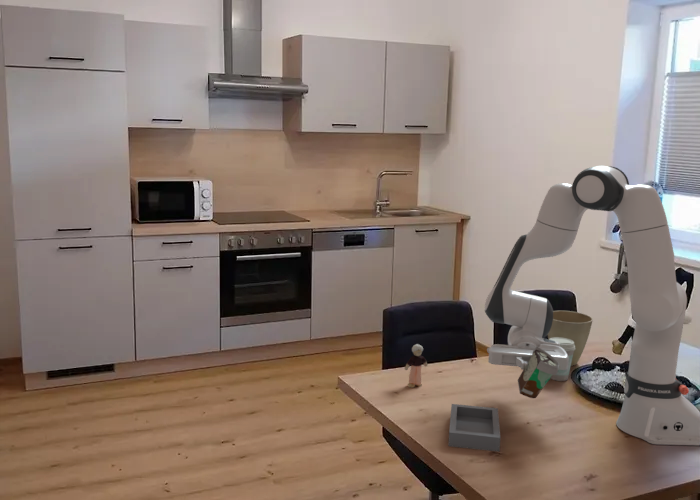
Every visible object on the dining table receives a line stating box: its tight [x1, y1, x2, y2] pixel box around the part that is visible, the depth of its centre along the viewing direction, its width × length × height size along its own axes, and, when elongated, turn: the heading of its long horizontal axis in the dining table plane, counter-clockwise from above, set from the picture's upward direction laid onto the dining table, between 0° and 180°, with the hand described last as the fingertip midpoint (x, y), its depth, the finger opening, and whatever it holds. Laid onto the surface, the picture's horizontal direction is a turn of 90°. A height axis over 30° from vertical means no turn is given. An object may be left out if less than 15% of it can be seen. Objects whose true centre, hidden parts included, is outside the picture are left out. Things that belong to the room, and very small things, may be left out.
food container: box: [517, 347, 559, 399], centre depth 170 cm, size 12×6×10 cm, turn 170°
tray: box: [448, 403, 501, 452], centre depth 171 cm, size 12×18×4 cm, turn 170°
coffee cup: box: [549, 337, 575, 382], centre depth 212 cm, size 8×8×12 cm
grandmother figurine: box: [404, 343, 428, 388], centre depth 202 cm, size 8×4×13 cm, turn 129°
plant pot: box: [547, 310, 594, 367], centre depth 227 cm, size 15×15×16 cm
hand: (529, 367), depth 171 cm, fingers closed on food container
